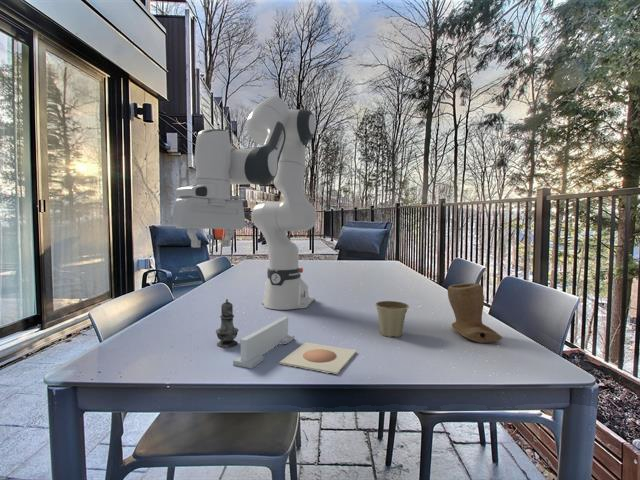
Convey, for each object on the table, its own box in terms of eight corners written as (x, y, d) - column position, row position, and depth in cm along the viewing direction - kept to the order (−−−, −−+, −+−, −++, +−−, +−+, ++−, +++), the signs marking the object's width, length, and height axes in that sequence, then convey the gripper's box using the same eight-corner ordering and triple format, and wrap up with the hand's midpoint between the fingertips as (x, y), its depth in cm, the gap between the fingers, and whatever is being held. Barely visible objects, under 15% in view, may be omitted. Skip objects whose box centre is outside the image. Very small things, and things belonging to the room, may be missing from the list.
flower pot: (409, 331, 108) (410, 302, 107) (406, 341, 99) (407, 310, 98) (378, 327, 111) (378, 299, 110) (372, 337, 102) (372, 306, 102)
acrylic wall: (278, 336, 102) (278, 315, 101) (294, 339, 100) (294, 317, 99) (232, 364, 82) (232, 338, 82) (251, 368, 81) (251, 342, 80)
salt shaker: (232, 348, 92) (232, 302, 92) (211, 346, 93) (211, 300, 93) (242, 341, 98) (242, 297, 97) (222, 339, 99) (221, 295, 98)
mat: (305, 344, 96) (305, 341, 96) (356, 352, 90) (356, 349, 90) (279, 364, 83) (279, 361, 83) (337, 375, 78) (337, 372, 77)
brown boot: (441, 327, 112) (443, 278, 111) (480, 327, 112) (482, 279, 111) (457, 344, 97) (459, 288, 96) (503, 345, 97) (505, 289, 95)
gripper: (234, 196, 103) (233, 245, 103) (169, 188, 86) (168, 247, 86) (250, 196, 99) (249, 246, 100) (185, 187, 82) (184, 248, 83)
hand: (211, 247), depth 93 cm, fingers open, 8 cm apart
